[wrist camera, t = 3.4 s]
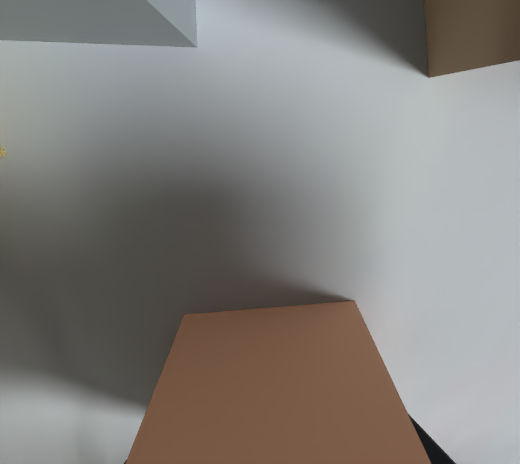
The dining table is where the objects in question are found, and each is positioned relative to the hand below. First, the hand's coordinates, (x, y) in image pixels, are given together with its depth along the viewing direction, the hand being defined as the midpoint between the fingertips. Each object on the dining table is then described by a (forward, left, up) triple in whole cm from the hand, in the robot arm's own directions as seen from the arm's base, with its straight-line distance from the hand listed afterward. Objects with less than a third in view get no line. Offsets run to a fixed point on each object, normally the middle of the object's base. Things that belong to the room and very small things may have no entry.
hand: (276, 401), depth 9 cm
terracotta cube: (0, 0, -1) cm, 1 cm away
